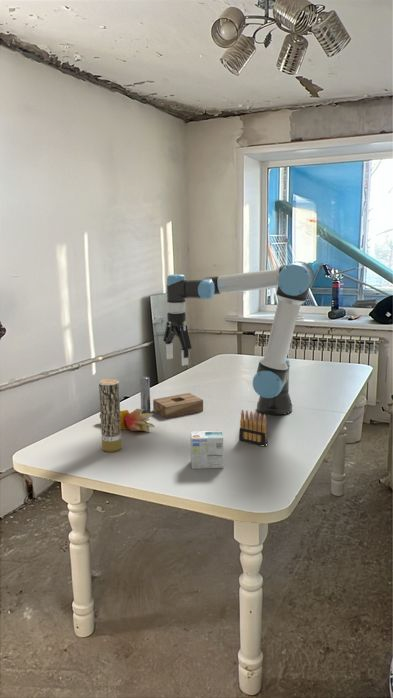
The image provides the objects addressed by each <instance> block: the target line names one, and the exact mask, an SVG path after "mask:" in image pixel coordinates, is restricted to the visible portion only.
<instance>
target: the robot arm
mask: <svg viewBox="0 0 393 698" xmlns="http://www.w3.org/2000/svg"><path fill="white" fill-rule="evenodd" d="M314 279H315V273H314V269H313V268H312V266H311V265H310V264H308V263H307V262H304V261H300V260H299V261H294V262H290V263H288V264H284V265H279V266H278V267H277V268H275V269H266V270H265V269H264V270H258V271H249V272H241V273H240V272H239V273H234V274H233V273H232V274H225V275H219V276H207V277H204V278H200V279H186V276H185V275H184V274H179V273H178V274H177V273H176V274H169V275H167V277H166V299H167V301H166V308H167V312H168V313H166V314H167V321H166V326H165V332H164V334H163V335H164V336H163V342H164V343H165V344H166V346H165V347H166V348H165V349H166V360H172V359H174V351H173V350H174V349H173V348H174V346H173V345H174V344H173V340H174V338H175V336H176V337H178V339H179V342H180V346H181V366H182V367H183V366H189V350H191V349H192V344H191V340H190V335H189V333H188V332H189V331H188V325H184V322H185V321H186V319H187V318H186V305H187V304H186V299H200V300H207V299H208V300H211V299H212V298H214V295H221V294H231V293H241V292H250V291H257V290H267V289H275V288H277V289H276V294H275V296H276V297H277V298H278V300H277V305H276V310H275V314H274V317H273V321H272V325H271V329H270V332H269V333H270V334H269V337H268V341H267V346H266V350H265V353H264V356H263V357H262V358H260V359H259V361H258V365H257V368H256V369H257V370H256V373H255V374H254V376H253V378H252V388H253V390H254V391H255V392H256V393H255V394H257V395H258V396H259V398H258V401H257V403H256V410H257V411H258V412H259V413H261V414H263V415H264V414H265V415H269V414H272V415H271V416H279V415H278V414H284V413H288V412H290V411H291V410H292V411H293V404H292V400H291V396H290V393H289V388H290V367H291V365H290V360H289V359H288V354H289V351H290V347H291V342H292V339H293V335H294V331H295V329H296V328H295V327H296V325H297V321H298V316H299V312H300V309H301V305H303V304H304V303H305V302H307V297H308V293H309V291H310V286H312V284H313V283H314ZM290 413H291V412H290ZM275 414H277V415H275ZM288 414H289V413H288ZM284 415H285V414H284Z"/></svg>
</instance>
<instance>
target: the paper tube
mask: <svg viewBox="0 0 393 698" xmlns="http://www.w3.org/2000/svg"><path fill="white" fill-rule="evenodd" d="M119 384H120V381H119V379H116V378H104V379H100V380H99V381H98V391H99V393H98V394H99V411H100V413H99V415H100V414H101V419H100V430H101V433H100V435H101V448H102V450H103V451H104V452H108V453H111V452H112V453H113V452H117V451H120V450H121V448H122V429H121V423H120V411H121V403H120V401H121V400H120V385H119Z"/></svg>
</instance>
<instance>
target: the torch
mask: <svg viewBox="0 0 393 698" xmlns="http://www.w3.org/2000/svg"><path fill="white" fill-rule="evenodd" d="M143 410H145V409H141V408H136V409H135V410H132V411H131V412H129V411H128V410H127V409H124V410H120V423H121V431H122V430H123V431H125V430H128V428H129V429H130V430H131V431H138V432H139V431H140V432H141V431H143V432H146V433H147V432H148V433H150V432H151V431H150V428H151V429H152V428H154V427H155V428H156V425H154V424H153V423H150V422H148V421H149V420H150V418H151V417H152V416H153V415H154V413H151V414H150V413H146V414H141V412H142V411H143ZM99 419H100V420H101V414H100V413H99Z"/></svg>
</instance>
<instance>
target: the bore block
mask: <svg viewBox="0 0 393 698" xmlns="http://www.w3.org/2000/svg"><path fill="white" fill-rule="evenodd" d="M152 407H153V411H154V412H155V413H157V414H158V415H160V416H162V417H163V418H165V419H170V418H175V417H180V416H183V415H189V414H195V413H199V412H203V411H204V399H202V398H200V397H199V396H196V395H194V394H192V393H190V392H187V393H181V394H175V395H169V396H164V397H159V398H153V399H152Z"/></svg>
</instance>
